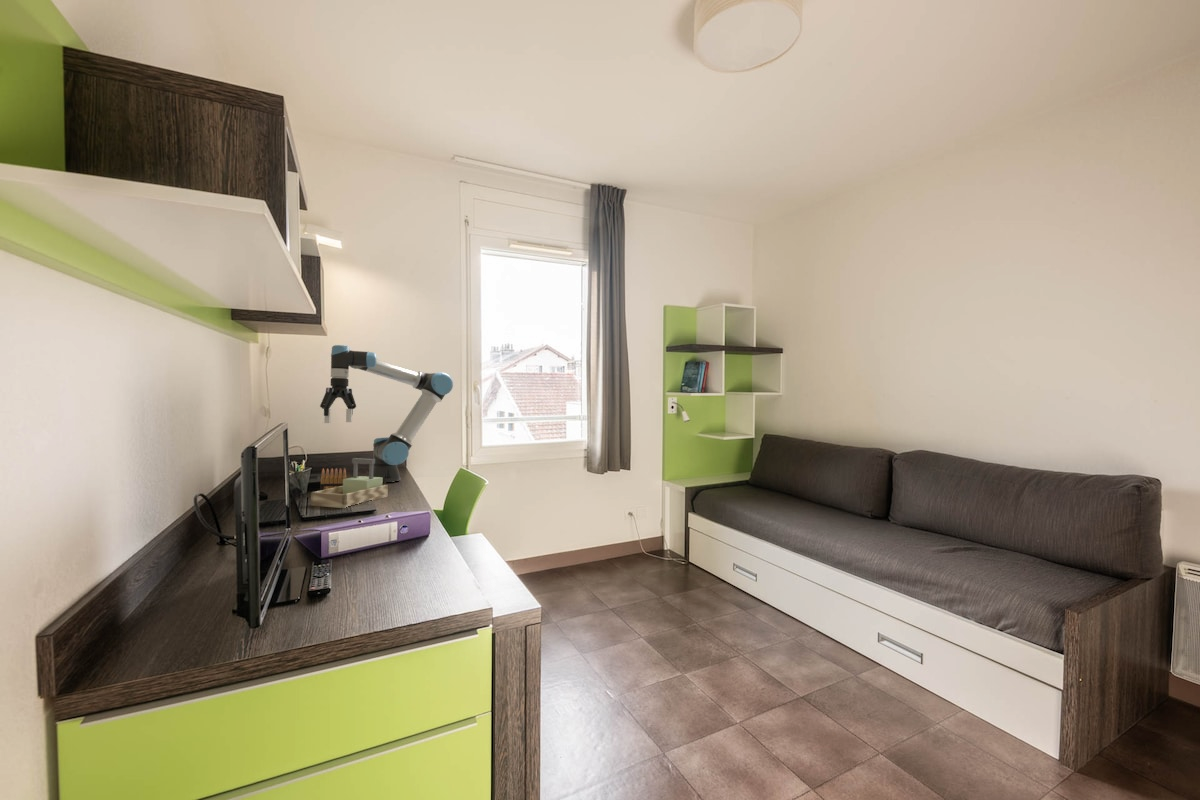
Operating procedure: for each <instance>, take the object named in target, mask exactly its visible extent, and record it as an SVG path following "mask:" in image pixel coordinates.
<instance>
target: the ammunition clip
mask: <svg viewBox="0 0 1200 800" xmlns="http://www.w3.org/2000/svg"><path fill="white" fill-rule="evenodd" d="M338 471H339V472H338ZM343 479H347V471H346V467H344V468H343V471H342V468H341V467H339V470H338V468H337V467H336V468H335V469H333V467H332V468H330V470H329V468H328V467H327V468H326V471H325V468H324V467H323V468H322V469H321V477H320V485H319V491H320V490H325V489H330V488H335V487H340V486H343Z"/></svg>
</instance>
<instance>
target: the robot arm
mask: <svg viewBox="0 0 1200 800" xmlns="http://www.w3.org/2000/svg"><path fill="white" fill-rule="evenodd" d="M330 357H331V358H330V360H331V361H330V377H331V378H330V386H331V387H326V388H325V393H324V396H323V398H322V400H321V402H320V405H319V407H320V408H321V409H322V410H323V416H324V418H323V419H324V424H331V421H332V418H331V417H332V415H331V414H332V409H331V406H332V405H333V404H334V402H335V401H336V399H338V398H340V399H342V401H343V402H344V404H345V406H346V407H347V408H346V409H345V411H346V413H345V414H346V415H345V418H346V419H345V422H346V423H352V422H353V413H354V411H353V410H354V409H356V408H357V404H356V401H355V397H354V395H353V389H352V388H347V387H349V372H350V371H349V369H350V368H352V369H355V370H356V369H357V370H361V371H364V372H367V373H372V374H374V375H377V376H380V377H384V378H387V379H389V380H393V381H397V382H400V383H402V384H406V385H409V386H411V387H413V389H416V390H418V391H421V395H420V397H419V398H418V400H417V401H416V402H415V404H414V405H413V407H412V408H411V410H410V411H409V413H408V415H406V417H405V419H404V420H403V421H402V423H401V425H400V426H399V428H398V429H397V430H396V432H393V433H391V434H390V436H389V437H377V438H375V439H374V440H373V444H372V445H373V446H372V447H373V457H372V459H375V464H374V468H373V477H382V478H383V482H392V481H397V480H400V481H401V475H400V472H399V468H398V465H401V464H403V463H404V462H405V461H406V460H407V459H408V457H409V453H410V452H409V451H410V450H411V449H412V446H413V443H412V441H413V439H414V437H415V436H416V434H417V433H418V432H419V430H420V429H421V428H422V426H423V424H424V423H425V421H426V419H427V418H428V417H429V415H430V413H431V412H432V411H433V409H434V408H435V405H436V404H437V403H440V402H442V401H443V399H444V397H446V395H447V394H450V393H451V392H452V390H453V388H454V382H453V379H452V377H451V376H450V374H447V373H446V372H441V371H440V372H436V373H435V372H434V373H432V372H431V373H429V372H424V371H423V372H422V371H414V370H410V369H407V368H404V367H401V366H399V365H396V364H392V363H389V362H385V361H382V360H379V359H377V354H376V353H375V352H373V351H358V350H350V347H349V346H348V345H342V344H335V345H332V346H331V354H330Z"/></svg>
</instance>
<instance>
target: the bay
mask: <svg viewBox="0 0 1200 800" xmlns="http://www.w3.org/2000/svg"><path fill="white" fill-rule="evenodd" d="M388 492H389V484H383V485H382V486H378V487H374V488H369V489H365V490H361V491H356V492H352V493H348V494H343V486H340V487H335V488H330V489H325V490H320V489H319V490H317V491H312V492H310V506H313V507H325V508H326V507H327V508H336V509H337V508H338V509H346V507H347V508H349V507H348V506H351V505H355V504H358V505H360V504H359V503H361V502H364V501H368V500H372V501H373V502H374V501H377V500H380V499H383V498H387V497H388V495H389V494H388ZM372 501H371V502H372ZM355 506H356V505H355ZM351 507H352V506H351Z"/></svg>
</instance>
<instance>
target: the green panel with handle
mask: <svg viewBox="0 0 1200 800" xmlns="http://www.w3.org/2000/svg"><path fill="white" fill-rule="evenodd" d="M351 463H352V464H353V474H352V477H346V479H343V494H348V493H352V492H356V491H361V490H365V489H369V488H374V487H378V486H382V485H384V483H383V478H382V477H373V468H374V464H375V459H373V458H362V457H361V458H360V457H359V458H357V457H353V458H352V459H351ZM359 464H361V465H368V466H369V467H368V476H366V475H365V476H363V475H359V474H358V473H359V469H358V468H359V466H358V465H359ZM358 475H359V476H358Z"/></svg>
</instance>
